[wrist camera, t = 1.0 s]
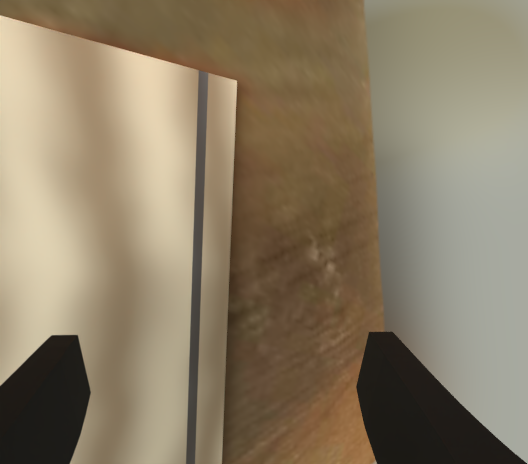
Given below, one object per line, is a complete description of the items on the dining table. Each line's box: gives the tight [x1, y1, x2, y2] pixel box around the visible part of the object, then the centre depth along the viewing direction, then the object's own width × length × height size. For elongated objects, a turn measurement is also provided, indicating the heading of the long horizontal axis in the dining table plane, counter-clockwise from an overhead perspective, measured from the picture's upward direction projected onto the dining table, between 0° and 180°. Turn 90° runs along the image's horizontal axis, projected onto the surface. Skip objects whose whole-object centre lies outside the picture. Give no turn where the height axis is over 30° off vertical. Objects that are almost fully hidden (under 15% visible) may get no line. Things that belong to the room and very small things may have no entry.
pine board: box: [0, 16, 237, 464], centre depth 21 cm, size 12×30×2 cm, turn 178°
